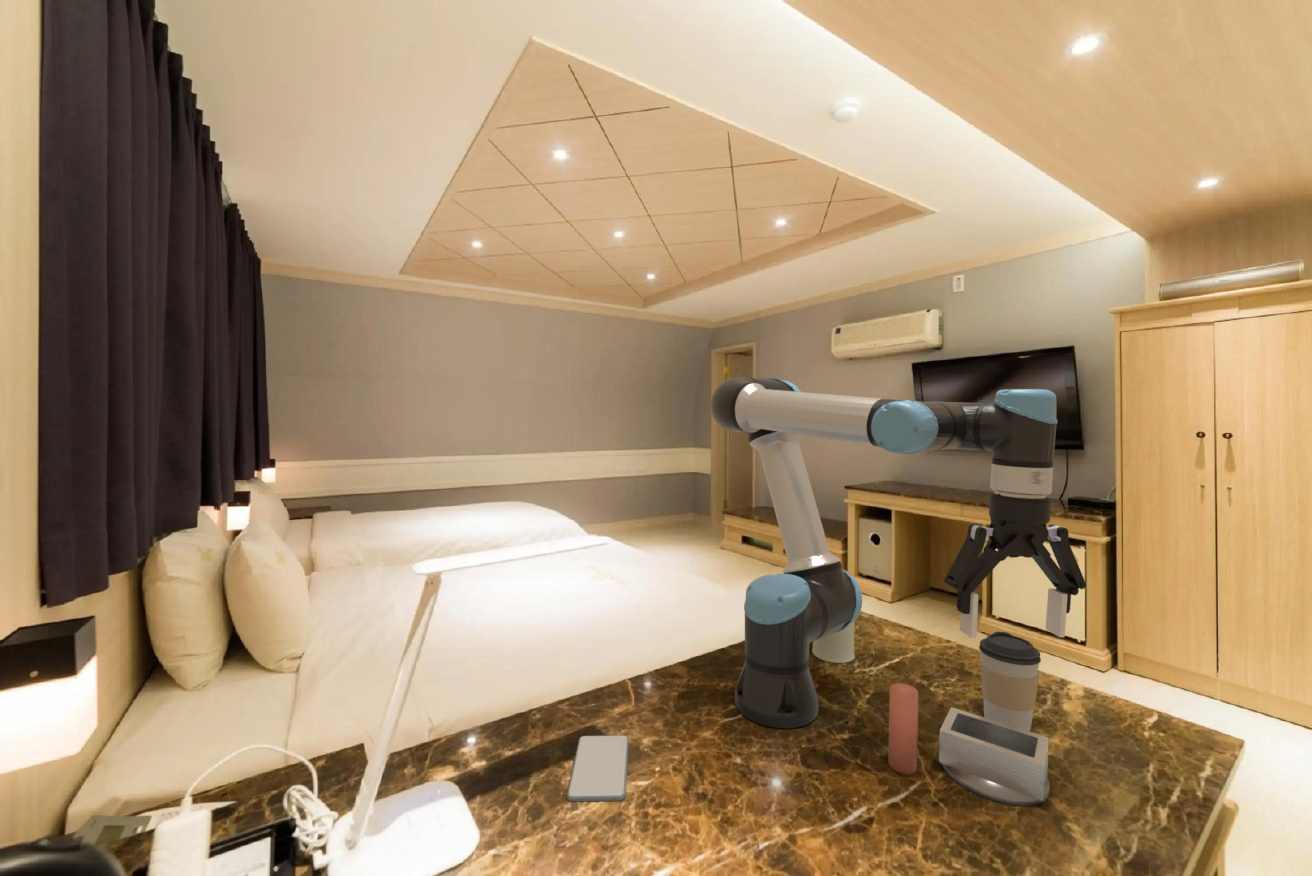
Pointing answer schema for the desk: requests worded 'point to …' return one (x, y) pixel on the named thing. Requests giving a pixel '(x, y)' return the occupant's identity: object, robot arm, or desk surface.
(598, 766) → the smartphone
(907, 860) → the desk surface
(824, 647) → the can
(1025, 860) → the desk surface
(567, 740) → the desk surface
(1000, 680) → the coffee cup
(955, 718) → the rosette bracket
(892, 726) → the pin
